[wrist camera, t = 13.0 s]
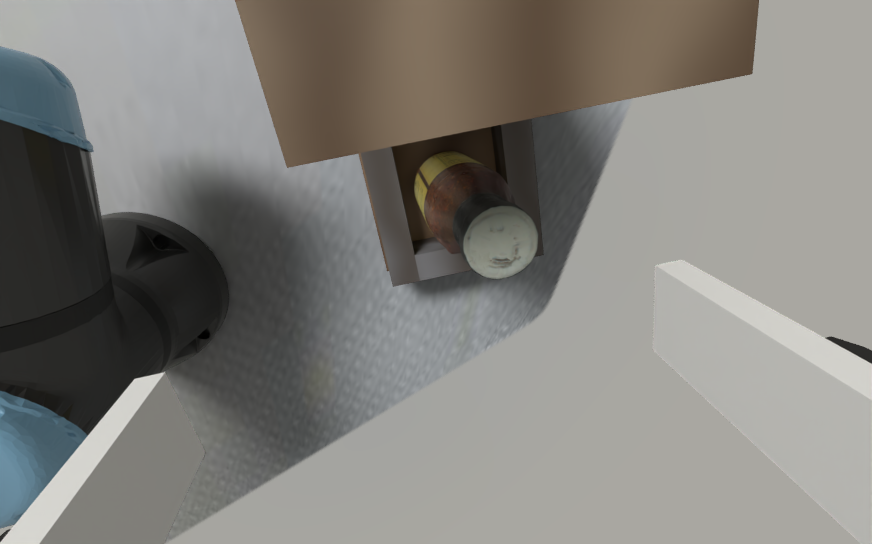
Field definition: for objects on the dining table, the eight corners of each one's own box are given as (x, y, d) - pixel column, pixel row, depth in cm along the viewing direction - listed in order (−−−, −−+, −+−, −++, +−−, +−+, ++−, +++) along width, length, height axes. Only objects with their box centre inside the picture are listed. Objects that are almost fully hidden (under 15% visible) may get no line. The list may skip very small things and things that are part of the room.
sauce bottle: (457, 227, 43) (511, 328, 24) (400, 196, 41) (413, 279, 23) (494, 167, 41) (582, 227, 23) (436, 132, 39) (481, 166, 21)
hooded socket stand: (387, 267, 45) (389, 498, 19) (333, 49, 37) (222, -42, 12) (532, 237, 45) (720, 424, 20) (509, 14, 37) (772, -146, 12)
